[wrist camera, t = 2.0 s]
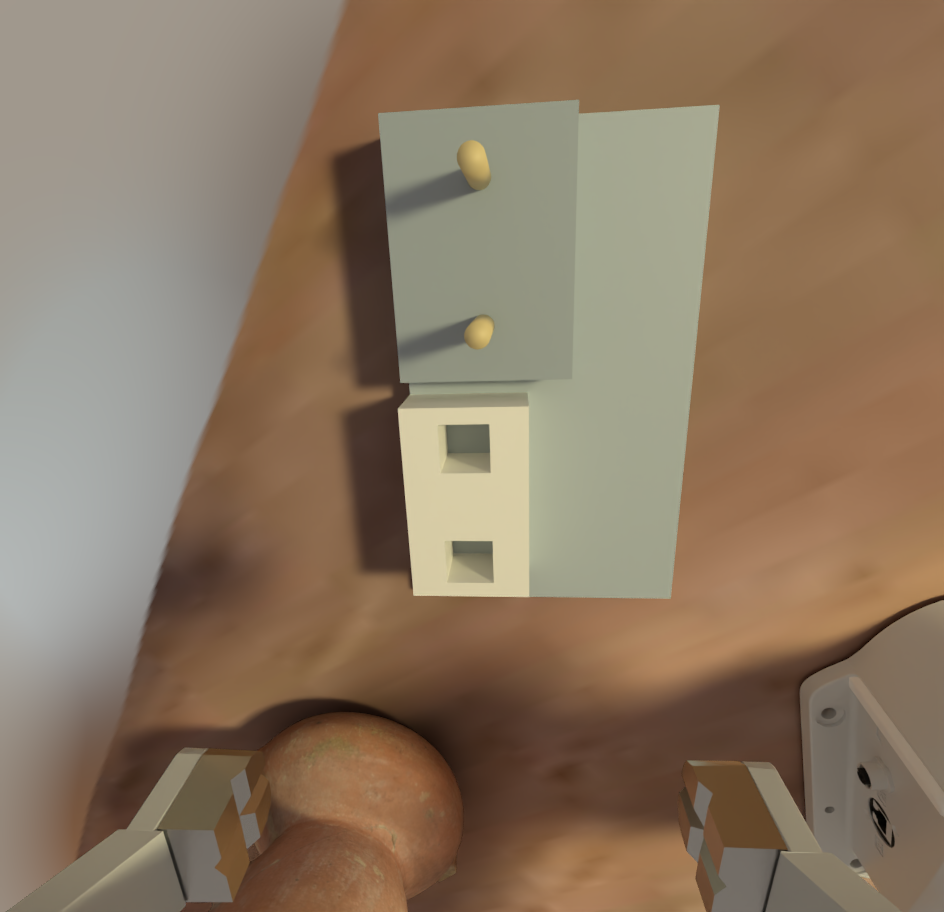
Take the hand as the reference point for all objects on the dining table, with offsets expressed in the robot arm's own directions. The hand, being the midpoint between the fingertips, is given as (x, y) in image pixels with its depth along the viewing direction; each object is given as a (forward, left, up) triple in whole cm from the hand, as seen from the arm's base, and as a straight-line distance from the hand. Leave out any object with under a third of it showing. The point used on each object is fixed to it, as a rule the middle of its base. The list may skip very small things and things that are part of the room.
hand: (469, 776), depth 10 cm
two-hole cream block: (-2, +1, -19) cm, 19 cm away
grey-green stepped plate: (+3, -3, -20) cm, 20 cm away
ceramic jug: (-24, +10, -20) cm, 33 cm away
